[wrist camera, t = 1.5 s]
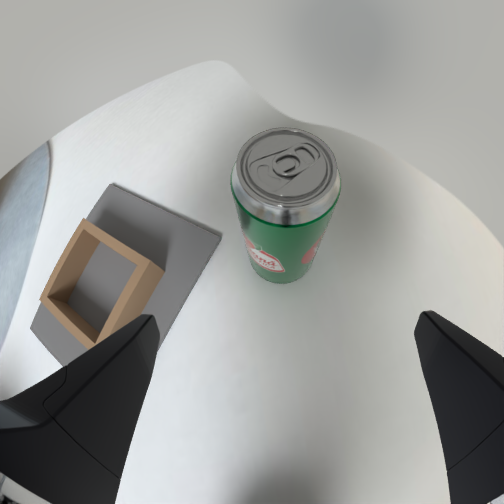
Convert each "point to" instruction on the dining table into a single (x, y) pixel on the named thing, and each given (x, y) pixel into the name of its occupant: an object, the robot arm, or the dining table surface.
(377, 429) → the dining table surface
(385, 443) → the dining table surface
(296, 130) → the soda can
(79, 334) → the can holder
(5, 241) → the dining table surface
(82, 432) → the robot arm
